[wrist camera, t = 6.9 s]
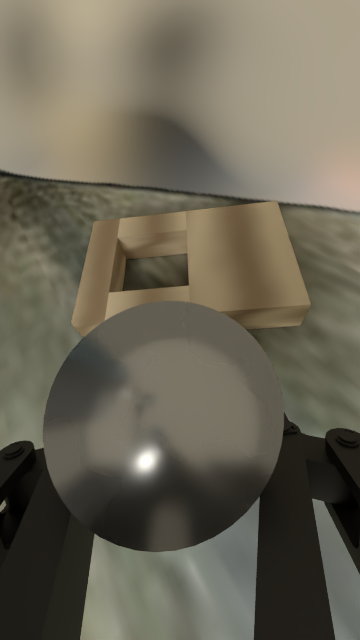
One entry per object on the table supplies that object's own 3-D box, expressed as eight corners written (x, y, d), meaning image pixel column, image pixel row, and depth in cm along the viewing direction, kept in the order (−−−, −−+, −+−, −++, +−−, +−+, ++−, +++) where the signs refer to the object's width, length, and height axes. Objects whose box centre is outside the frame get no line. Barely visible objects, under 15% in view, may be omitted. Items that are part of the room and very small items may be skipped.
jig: (86, 340, 24) (70, 323, 21) (104, 243, 30) (94, 221, 28) (300, 325, 22) (311, 304, 20) (271, 226, 28) (277, 200, 26)
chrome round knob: (141, 510, 16) (11, 552, 6) (146, 402, 20) (69, 308, 9) (250, 509, 16) (315, 552, 5) (236, 398, 19) (260, 293, 9)
